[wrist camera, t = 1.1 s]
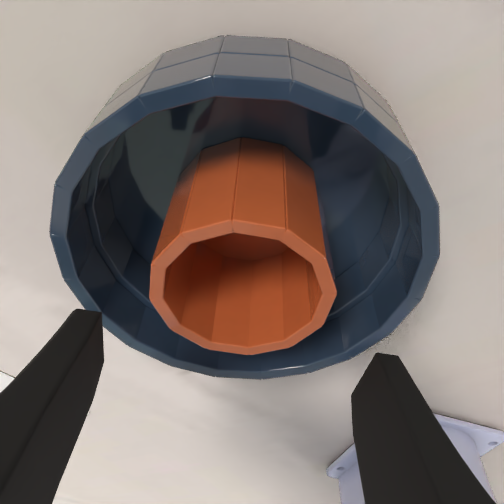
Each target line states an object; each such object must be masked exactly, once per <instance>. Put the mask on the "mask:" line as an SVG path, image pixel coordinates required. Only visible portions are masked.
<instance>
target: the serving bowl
mask: <svg viewBox="0 0 504 504" xmlns="http://www.w3.org/2000/svg"><path fill="white" fill-rule="evenodd" d="M240 137H241V138H242V137H245V138H250V139H255V140H261V141H266V142H271V143H276V144H282V145H283V146H285V147H287V148H288V149H289V150H290V151H291V152H292V153H294V154H295V155H296V156H297V157H298V158H300V159H301V160H302V161H303V162H304V163H306V164H307V165H308V166H309V167H310V168H312V170H313V171H314V174H315V177H316V180H317V184H318V187H319V191H320V194H321V197H322V201H323V206H324V212H325V219H326V225H327V231H328V237H329V244H330V250H331V256H332V262H333V269H334V275H335V281H336V287H337V295H336V298H335V300H334V302H333V304H332V307H331V309H330V311H329V314H328V316H327V318H326V320H325V323H324V325H322V327H321V328H319V329H318V330H316V331H315V332H313V333H312V334H310V335H309V336H307V337H306V338H304V339H303V340H301V341H300V342H298V343H297V344H295V345H294V346H292V347H290V348H286V349H280V350H275V351H270V352H265V353H260V354H254V355H243V354H236V353H229V352H222V351H215V350H208V349H205V348H203V347H201V346H199V345H198V344H196V343H194V342H192V341H190V340H188V339H187V338H185V337H183V336H181V335H179V334H177V333H175V332H174V331H172V330H171V329H169V327H168V326H167V324H166V323H165V321H164V320H163V319H162V317H161V316H160V314H159V313H158V311H157V310H156V309H155V307H154V306H153V304H152V303H151V301H150V299H149V288H150V270H151V262H152V259H153V256H154V253H155V250H156V246H157V243H158V240H159V237H160V234H161V231H162V227H163V224H164V221H165V218H166V215H167V212H168V208H169V205H170V202H171V199H172V196H173V192H174V189H175V186H176V183H177V180H178V178H179V175H180V174H181V173H182V172H183V171H184V170H185V168H186V167H187V166H188V165H189V164H190V163H191V161H192V160H193V159H194V158H195V157H196V156H197V155H198V153H199V152H200V151H201V150H203V149H205V148H208V147H211V146H214V145H217V144H221V143H224V142H227V141H230V140H233V139H236V138H240ZM49 232H50V238H51V241H52V244H53V248H54V251H55V254H56V257H57V261H58V264H59V267H60V270H61V274H62V277H63V279H64V281H65V282H66V284H67V285H68V286H69V288H70V289H71V291H72V292H73V293H74V295H75V296H76V297H77V299H78V300H79V301H80V303H81V304H82V306H83V307H84V308H85V310H90V311H97V312H102V326H103V327H104V328H106V329H107V330H108V331H109V332H111V333H112V334H113V335H114V336H116V337H117V338H118V339H120V340H121V341H122V342H123V343H125V344H126V345H128V346H129V347H131V348H133V349H135V350H138V351H140V352H142V353H144V354H146V355H148V356H150V357H152V358H155V359H157V360H159V361H161V362H163V363H165V364H167V365H170V366H172V367H176V368H180V369H185V370H189V371H193V372H197V373H201V374H205V375H209V376H213V377H215V376H216V377H224V378H242V379H260V380H261V379H270V378H278V377H285V376H293V375H301V374H307V373H311V372H314V371H317V370H320V369H323V368H326V367H328V366H331V365H334V364H337V363H340V362H343V361H346V360H349V359H351V358H353V357H355V356H357V355H358V354H360V353H361V352H363V351H365V350H366V349H368V348H369V347H371V346H372V345H374V344H376V343H377V342H379V341H380V340H382V339H384V338H385V337H387V336H388V335H390V333H392V332H393V331H394V330H395V329H396V328H397V327H398V326H399V324H400V323H401V322H402V321H403V320H404V319H405V318H406V317H407V315H408V314H409V313H410V312H411V311H412V310H413V309H414V308H415V307H416V305H417V304H418V303H419V302H420V301H421V299H422V298H423V295H424V293H425V291H426V288H427V286H428V283H429V281H430V278H431V276H432V274H433V271H434V269H435V266H436V264H437V261H438V259H439V255H440V222H439V203H438V201H437V199H436V197H435V195H434V193H433V191H432V188H431V186H430V184H429V182H428V180H427V178H426V176H425V174H424V171H423V169H422V167H421V165H420V163H419V161H418V159H417V156H416V154H415V152H414V151H413V149H412V147H411V145H410V143H409V141H408V139H407V137H406V135H405V134H404V132H403V130H402V128H401V126H400V124H399V122H398V120H397V118H396V116H395V115H394V113H393V111H392V109H391V107H390V105H389V104H388V103H387V101H386V100H385V99H384V98H383V97H382V96H381V95H380V94H379V93H378V92H377V91H376V90H375V89H373V88H372V87H371V86H370V85H369V84H368V83H367V82H366V81H365V80H364V79H363V78H362V77H361V76H360V75H359V74H357V73H356V72H355V71H354V70H353V69H352V68H351V67H350V66H349V65H347V64H346V63H345V62H343V61H341V60H339V59H336V58H334V57H331V56H329V55H327V54H324V53H322V52H320V51H317V50H315V49H312V48H310V47H308V46H305V45H303V44H301V43H298V42H296V41H293V40H291V39H288V40H287V39H282V38H265V37H248V36H231V35H227V36H225V37H224V36H218V37H215V38H211V39H208V40H205V41H201V42H198V43H194V44H191V45H188V46H184V47H181V48H177V49H174V50H170V51H167V52H165V53H163V54H161V55H160V56H159V57H157V58H156V59H155V60H153V61H152V62H151V63H149V64H148V65H147V66H145V67H144V68H143V69H141V70H140V71H139V72H137V73H136V74H135V75H133V76H132V77H131V78H129V79H128V80H127V81H125V82H124V83H123V84H121V85H120V86H119V88H118V89H117V90H116V91H115V93H114V94H113V95H112V97H111V98H110V99H109V101H108V102H107V103H106V105H105V106H104V108H103V109H102V110H101V112H100V113H99V114H98V116H97V117H96V118H95V120H94V121H93V122H92V124H91V125H90V126H89V128H88V129H87V130H86V132H85V133H84V134H83V136H82V138H81V139H80V141H79V143H78V144H77V146H76V148H75V149H74V151H73V153H72V154H71V156H70V158H69V159H68V161H67V163H66V164H65V166H64V168H63V170H62V171H61V173H60V175H59V176H58V178H57V180H56V181H55V185H54V193H53V202H52V212H51V221H50V231H49Z"/></svg>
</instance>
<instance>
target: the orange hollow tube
mask: <svg viewBox="0 0 504 504" xmlns="http://www.w3.org/2000/svg"><path fill="white" fill-rule="evenodd" d="M336 295H337V287H336V281H335V275H334V269H333V262H332V256H331V250H330V244H329V237H328V231H327V225H326V219H325V212H324V206H323V201H322V197H321V194H320V191H319V187H318V184H317V180H316V177H315V174H314V171H313V170H312V168H310V167H309V166H308V165H307V164H306V163H304V162H303V161H302V160H301V159H300V158H298V157H297V156H296V155H295V154H294V153H292V152H291V151H290V150H289V149H288V148H287V147H285V146H283V145H282V144H276V143H271V142H266V141H261V140H255V139H250V138H245V137H242V138H241V137H240V138H236V139H233V140H230V141H227V142H224V143H221V144H217V145H214V146H211V147H208V148H205V149H203V150H201V151H200V152H199V153H198V155H197V156H196V157H195V158H194V159H193V160H192V161H191V163H190V164H189V165H188V166H187V167H186V168H185V170H184V171H183V172H182V173H181V174H180V175H179V178H178V180H177V183H176V186H175V189H174V192H173V196H172V199H171V202H170V205H169V208H168V212H167V215H166V218H165V221H164V224H163V227H162V231H161V234H160V237H159V240H158V243H157V246H156V250H155V253H154V256H153V259H152V262H151V270H150V288H149V299H150V301H151V303H152V304H153V306H154V307H155V309H156V310H157V311H158V313H159V314H160V316H161V317H162V319H163V320H164V321H165V323H166V324H167V326H168V327H169V329H171V330H172V331H174V332H175V333H177V334H179V335H181V336H183V337H185V338H187V339H188V340H190V341H192V342H194V343H196V344H198V345H199V346H201V347H203V348H205V349H208V350H215V351H222V352H229V353H236V354H243V355H254V354H260V353H265V352H270V351H275V350H280V349H286V348H290V347H292V346H294V345H295V344H297V343H298V342H300V341H301V340H303V339H304V338H306V337H307V336H309V335H310V334H312V333H313V332H315V331H316V330H318V329H319V328H321V327H322V325H324V323H325V320H326V318H327V316H328V314H329V311H330V309H331V307H332V304H333V302H334V300H335V298H336Z"/></svg>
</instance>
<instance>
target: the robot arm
mask: <svg viewBox="0 0 504 504" xmlns="http://www.w3.org/2000/svg"><path fill="white" fill-rule="evenodd" d="M103 363H104V350H103V326H102V312H97V311H90V310H83V309H76V310H74V311H73V312H72V313H71V314H70V316H69V317H68V318H67V319H66V321H65V322H64V323H63V324H62V326H61V327H60V328H59V329H58V331H57V332H56V333H55V334H54V335H53V337H52V338H51V339H50V340H49V341H48V342H47V344H46V345H45V346H44V347H43V348H42V349H41V351H40V352H39V353H38V354H37V355H36V356H35V357H34V358H33V359H32V360H31V362H30V363H29V364H28V365H27V366H26V367H25V368H24V369H23V370H22V371H21V372H20V373H19V374H18V376H17V377H16V378H15V379H14V380H13V381H12V382H11V383H10V384H9V385H8V386H7V387H6V388H5V389H4V390H3V391H2V392H1V393H0V504H52V502H53V499H54V496H55V494H56V491H57V488H58V485H59V483H60V481H61V478H62V476H63V473H64V471H65V468H66V466H67V463H68V461H69V458H70V456H71V453H72V451H73V448H74V446H75V444H76V441H77V439H78V436H79V434H80V431H81V429H82V426H83V424H84V421H85V419H86V416H87V414H88V411H89V409H90V406H91V404H92V401H93V398H94V395H95V391H96V388H97V385H98V381H99V377H100V374H101V370H102V367H103ZM351 403H352V424H353V436H354V442H355V443H354V444H353V445H352V446H351V447H350V448H348V449H347V450H346V451H345V452H344V453H343V454H342V455H341V456H340V457H339V458H338V459H337V460H336V461H334V462H333V463H332V464H331V465H330V466H329V467H328V468H327V469H326V470H327V475H328V476H329V477H332V478H337V479H338V480H339V489H340V498H341V504H497V502H496V499H495V497H494V494H493V491H492V488H491V485H490V483H489V480H488V477H487V474H486V472H485V469H484V466H483V463H482V461H481V458H480V457H481V456H483V455H484V454H486V453H487V452H489V451H490V450H492V449H493V448H495V447H496V446H498V445H500V444H501V443H503V442H504V432H503V431H501V430H497V429H493V428H489V427H485V426H481V425H477V424H473V423H469V422H466V421H462V420H458V419H454V418H450V417H446V416H442V415H438V414H434V413H433V412H432V411H431V409H430V408H429V406H428V404H427V403H426V401H425V399H424V398H423V396H422V394H421V393H420V391H419V389H418V388H417V386H416V384H415V383H414V381H413V379H412V378H411V376H410V374H409V373H408V371H407V369H406V368H405V366H404V364H403V363H402V361H401V360H400V358H399V356H396V355H389V354H382V353H376V354H375V356H374V357H373V359H372V361H371V362H370V364H369V366H368V367H367V369H366V371H365V373H364V374H363V376H362V378H361V379H360V381H359V383H358V384H357V386H356V388H355V390H354V391H353V393H352V395H351Z"/></svg>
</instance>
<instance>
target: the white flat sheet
mask: <svg viewBox="0 0 504 504" xmlns="http://www.w3.org/2000/svg"><path fill="white" fill-rule="evenodd" d="M14 379H15V378H13V377H11V376H9V375H7V374H5V373H2V372H0V393H1V392H2V391H3V390H4V389H5V388H6V387H7V386H8V385H9V384H10V383H11V382H12V381H13V380H14ZM88 414H89V412H88ZM88 414H87V415H88Z"/></svg>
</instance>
